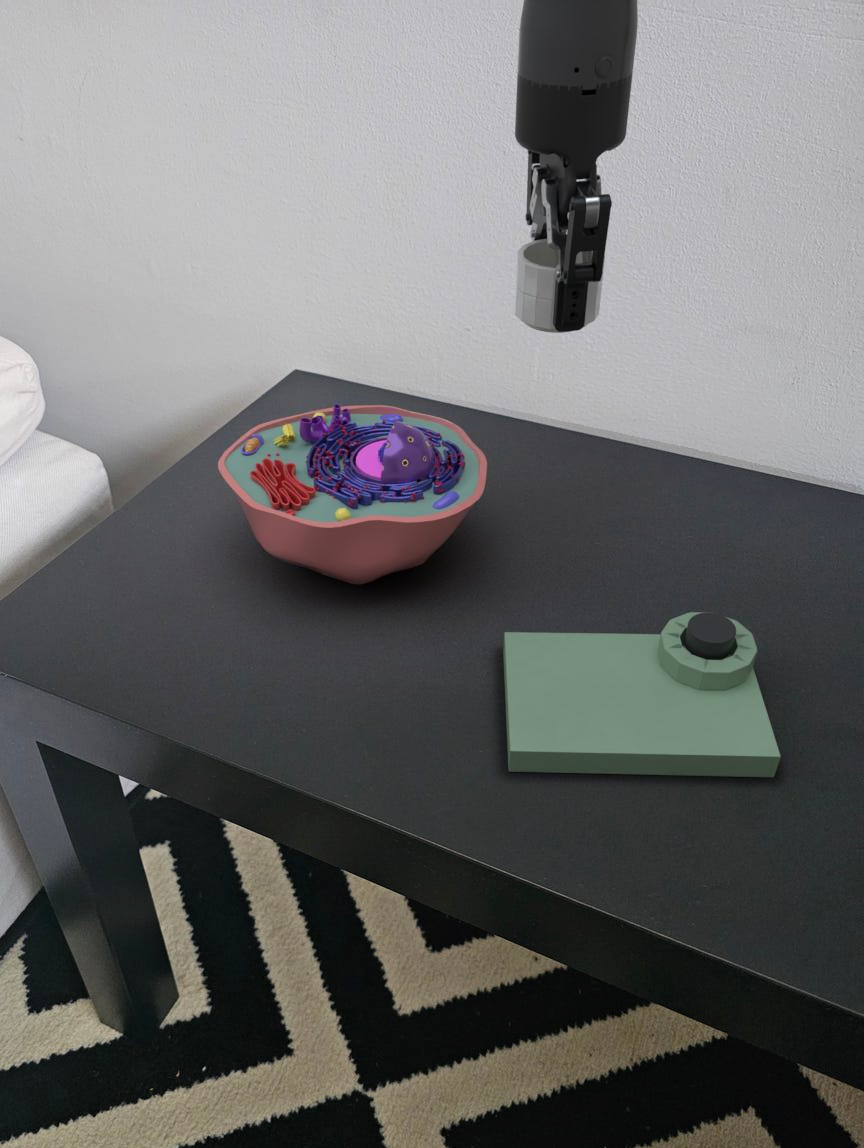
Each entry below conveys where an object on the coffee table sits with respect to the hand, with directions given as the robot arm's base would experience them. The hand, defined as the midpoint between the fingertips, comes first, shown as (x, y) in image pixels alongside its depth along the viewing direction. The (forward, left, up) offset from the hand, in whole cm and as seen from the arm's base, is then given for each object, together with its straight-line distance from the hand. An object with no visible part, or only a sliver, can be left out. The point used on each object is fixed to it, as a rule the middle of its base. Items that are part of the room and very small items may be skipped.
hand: (556, 308), depth 79 cm
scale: (-4, +28, -15) cm, 32 cm away
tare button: (-9, +25, -12) cm, 29 cm away
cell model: (+15, +11, -15) cm, 24 cm away
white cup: (0, 0, -1) cm, 1 cm away
